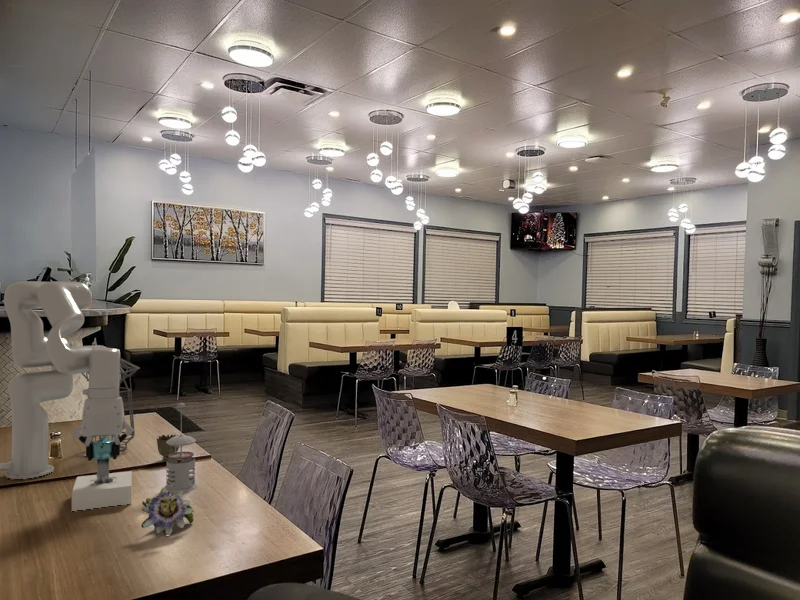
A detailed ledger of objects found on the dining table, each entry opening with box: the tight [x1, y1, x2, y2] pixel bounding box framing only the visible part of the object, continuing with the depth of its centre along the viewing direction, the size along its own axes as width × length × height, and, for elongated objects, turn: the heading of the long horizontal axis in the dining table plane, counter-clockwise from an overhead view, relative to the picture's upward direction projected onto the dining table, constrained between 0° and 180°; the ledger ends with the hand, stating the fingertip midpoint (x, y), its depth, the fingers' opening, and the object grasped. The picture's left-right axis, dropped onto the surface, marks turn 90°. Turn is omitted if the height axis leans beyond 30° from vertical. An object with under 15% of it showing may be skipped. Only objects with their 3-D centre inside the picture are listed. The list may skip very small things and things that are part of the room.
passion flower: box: [141, 486, 195, 536], centre depth 139 cm, size 11×11×12 cm
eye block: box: [71, 470, 133, 512], centre depth 158 cm, size 14×14×5 cm
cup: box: [156, 433, 180, 461], centre depth 195 cm, size 8×7×8 cm
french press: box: [163, 402, 199, 494], centre depth 169 cm, size 10×12×25 cm
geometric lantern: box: [80, 357, 141, 452], centre depth 206 cm, size 16×16×35 cm
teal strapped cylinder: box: [92, 436, 115, 484], centre depth 158 cm, size 9×6×16 cm, turn 16°
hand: (103, 458), depth 158 cm, fingers closed on teal strapped cylinder, 5 cm apart
